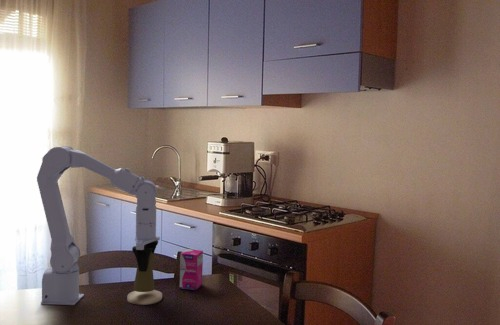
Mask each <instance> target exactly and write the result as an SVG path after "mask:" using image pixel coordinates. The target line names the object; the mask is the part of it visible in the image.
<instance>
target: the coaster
mask: <svg viewBox="0 0 500 325" xmlns="http://www.w3.org/2000/svg"><path fill="white" fill-rule="evenodd" d="M126 297H127V298H126V299H127V300H126V301H127V302H128V303H130V304H133V305H140V306H141V305H142V306H145V305H146V306H147V305H152V304H156V303H159V302H160V301H162V299H163V292H161V291H159V290H156V289H154V290H153V291H149V292H137V291H134V290H133V291H131V292H128V294H127V296H126Z"/></svg>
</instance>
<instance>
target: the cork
mask: <svg viewBox="0 0 500 325" xmlns="http://www.w3.org/2000/svg"><path fill="white" fill-rule="evenodd" d="M135 260H136V262H137V259H136V258H135ZM154 261H155V253H154V254H153V253H152V252H151V254H150V257H149V263H148V269H147V271H146V272H144V271H139V268H138V264H137V266H136V271H135V277H134V284H133V291H137V292H149V291H153V290H156V288H155V279H154V268H153V262H154Z"/></svg>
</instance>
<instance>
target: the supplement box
mask: <svg viewBox="0 0 500 325" xmlns="http://www.w3.org/2000/svg"><path fill="white" fill-rule="evenodd" d="M179 258H180V259H179V260H180V262H179V289H181V290H190V291H191V290H192V291H197V290H198V289H199V288H201V286H202V285H203V269H204V268H203V263H204V262H203V261H204V251H203V250H199V249H190V248H189V249H188V248H186V249H184V250H183V251H182V252H181V253H180V255H179Z"/></svg>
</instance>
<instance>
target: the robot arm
mask: <svg viewBox="0 0 500 325" xmlns="http://www.w3.org/2000/svg"><path fill="white" fill-rule="evenodd" d="M41 159H42V160H41V161H42V162H41V165H40V167H39V170H38V173H37V177H36V182H37V186H38V189H39V195H40V199H41V202H42V203H41V204H42V206H43V210H44V213H45V218H46V222H47V227H48V230H49V231H48V232H49V235H50V238H51V240H50V241H51V242H50V253H51V256H50V258H49V264H50V267H51V268H47V269H46V270H45V271H44V272H43V274H42V277H41V278H42V279H41V301H40V304H41V305H59V306H74V305H76V304H77V303H78V302H79V301H80V300H81V299H82V298H84V295H85V294H84V293H80V266H79V265H78V263H77V262H78V260H79V259H80V257H81V249H80V248H79V246H78V245H77V244H76V243H75V239H74V236H73V235H72V234H71V231H70V227H69V223H68V220H67V219H68V218H67V216H66V212H65V211H66V210H65V207H64V203H63V199H62V194H61V190H60V187H59V182H58V181H59V179H60V178H61V177H62V175H63V174H64V173H65V172H66V171H67V170H68V169H71V168H72V169H73V168H76V169H77V168H83V169H87V170H89V171H92V172H94V173H96V174H98V175H99V176H102V177H104V178H107V179H108V180H110V182H111V185H112V186H113V187H115V188H117V189H118V190H120V191H122V192H124V193H127V194H129V195H131V196H135V198H136V207H135V237H134V241H135V245H134V246H132V248H131V249H132V252H133V254H134V256H135V260H136V259H137V261H136V264H137V265H138V268H139V271H144V272H146V271H147V269H148V263H149V257H150V254H151V252H152V253H153V254H154V255H155V250H156V248H157V246H158V244H159V241H160V240H161V237H160V236H157V205H156V204H157V200H156V197H157V192H158V187H157V186H156V184H155V183H154V182H153V181H152V180H151V179H146V177H145V176H143V175H142V176H139V175H138V174H135V173H133V172H131V169H130V168H129V167H126V168H123V167H120V168H117V169H116V168H114V167H111V166H110V165H108V164H106V163H104V162H103V161H101V160H99V159H97V158H95V157H94V156H91V155H90V154H88V153H86V152H84V151H82V150H80V149H74V147H72V146H69V145H62V146H54V147H52V148H50V149H49V150H47V152H46V153H45V154H44V155H43V157H42V158H41Z"/></svg>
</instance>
